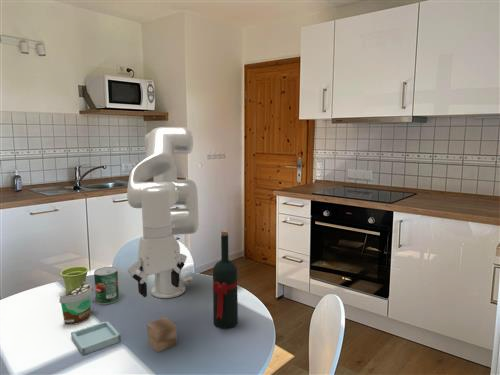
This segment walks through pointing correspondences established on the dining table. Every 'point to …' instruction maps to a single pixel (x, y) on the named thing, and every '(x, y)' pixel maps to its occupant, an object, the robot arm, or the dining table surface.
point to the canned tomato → (106, 285)
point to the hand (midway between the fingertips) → (159, 290)
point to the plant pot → (74, 277)
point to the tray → (95, 337)
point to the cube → (161, 334)
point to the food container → (77, 304)
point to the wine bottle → (225, 289)
